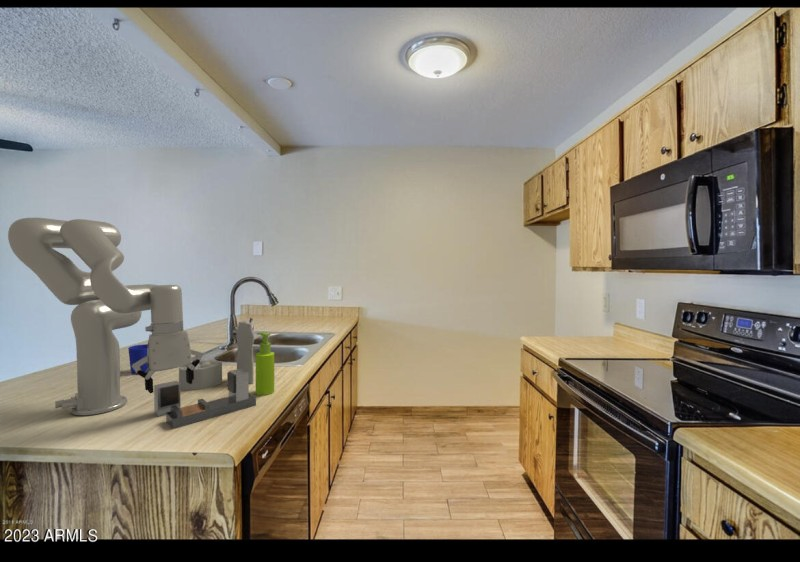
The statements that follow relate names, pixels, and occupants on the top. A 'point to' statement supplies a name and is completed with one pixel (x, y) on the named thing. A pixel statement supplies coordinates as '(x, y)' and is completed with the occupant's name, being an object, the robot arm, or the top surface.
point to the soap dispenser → (265, 367)
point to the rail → (215, 402)
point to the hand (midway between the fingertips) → (170, 387)
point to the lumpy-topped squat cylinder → (202, 375)
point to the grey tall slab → (245, 348)
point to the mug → (138, 356)
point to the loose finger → (166, 397)
